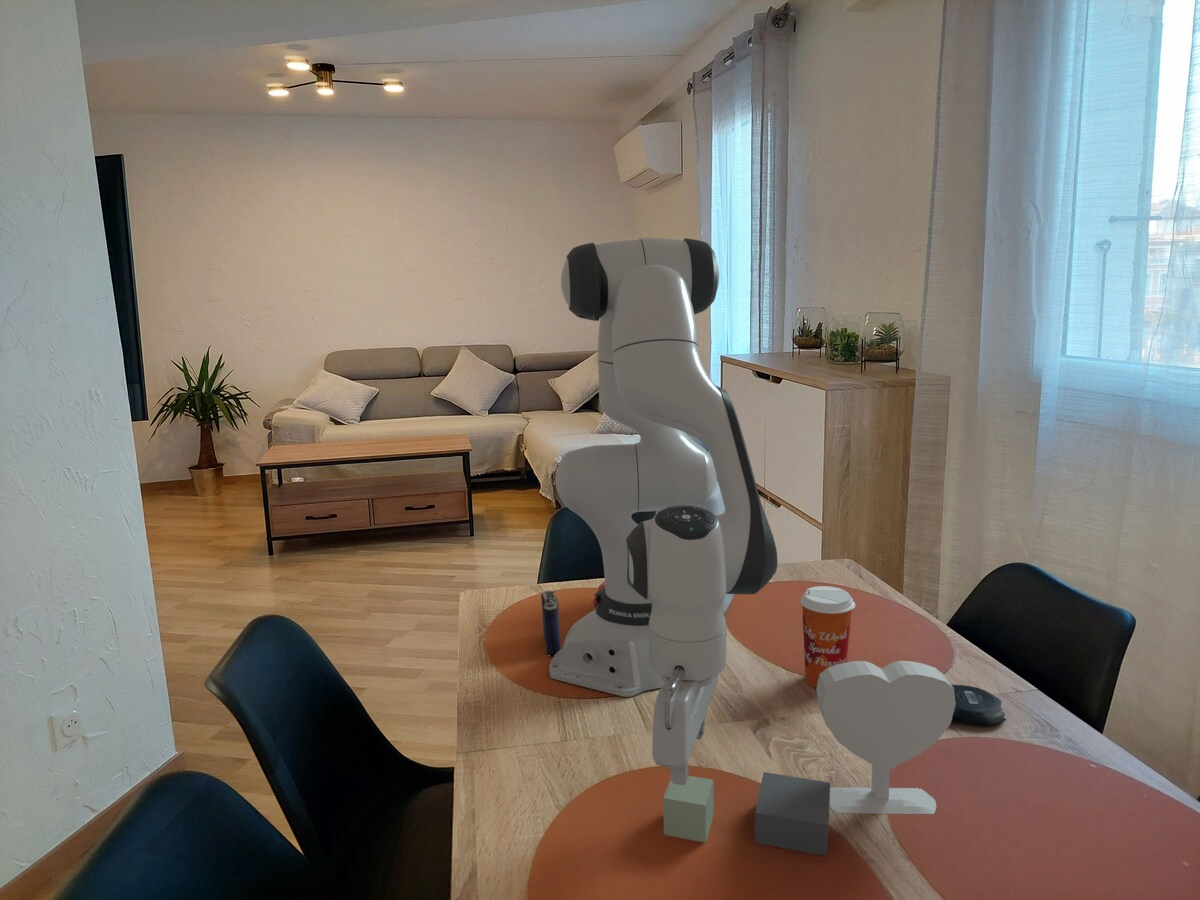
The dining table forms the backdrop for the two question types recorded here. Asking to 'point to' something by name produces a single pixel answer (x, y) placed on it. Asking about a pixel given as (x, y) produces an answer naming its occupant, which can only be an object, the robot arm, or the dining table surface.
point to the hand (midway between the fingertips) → (688, 757)
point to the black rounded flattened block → (976, 706)
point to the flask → (550, 622)
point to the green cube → (689, 809)
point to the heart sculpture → (885, 727)
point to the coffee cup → (825, 629)
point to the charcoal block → (793, 813)
